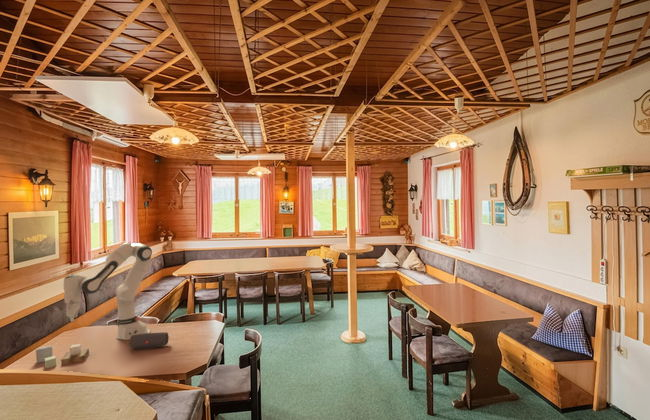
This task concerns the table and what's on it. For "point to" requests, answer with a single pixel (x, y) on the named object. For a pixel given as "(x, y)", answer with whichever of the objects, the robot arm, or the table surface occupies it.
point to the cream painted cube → (75, 349)
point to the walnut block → (75, 357)
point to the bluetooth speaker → (149, 340)
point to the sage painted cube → (50, 361)
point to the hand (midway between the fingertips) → (74, 319)
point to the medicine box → (43, 353)
